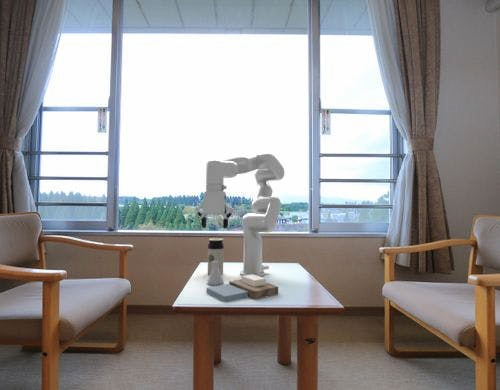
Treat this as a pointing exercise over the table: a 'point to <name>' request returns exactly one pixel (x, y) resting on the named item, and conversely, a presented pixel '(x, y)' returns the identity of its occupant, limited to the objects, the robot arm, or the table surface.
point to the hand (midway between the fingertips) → (214, 227)
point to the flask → (215, 275)
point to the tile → (254, 280)
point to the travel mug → (215, 253)
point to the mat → (227, 292)
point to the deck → (256, 289)
